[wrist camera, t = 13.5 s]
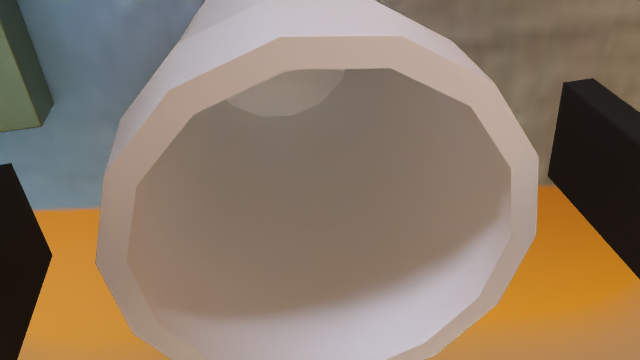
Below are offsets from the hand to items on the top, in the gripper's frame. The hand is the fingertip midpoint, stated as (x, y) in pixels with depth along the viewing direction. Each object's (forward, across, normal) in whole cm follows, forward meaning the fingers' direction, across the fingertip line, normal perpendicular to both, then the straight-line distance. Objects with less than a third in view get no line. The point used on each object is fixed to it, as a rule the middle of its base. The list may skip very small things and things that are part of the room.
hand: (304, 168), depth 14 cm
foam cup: (+11, 0, -1) cm, 11 cm away
